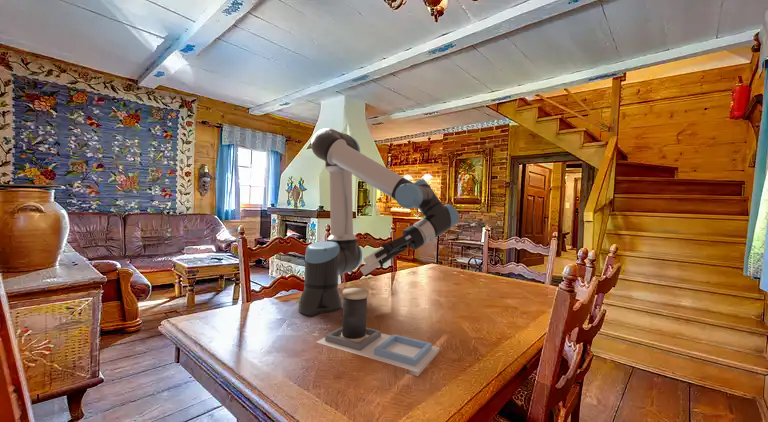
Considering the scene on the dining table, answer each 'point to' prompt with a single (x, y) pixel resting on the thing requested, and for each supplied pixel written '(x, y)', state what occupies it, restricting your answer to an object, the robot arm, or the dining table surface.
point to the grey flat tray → (386, 349)
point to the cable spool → (354, 314)
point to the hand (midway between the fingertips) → (363, 267)
